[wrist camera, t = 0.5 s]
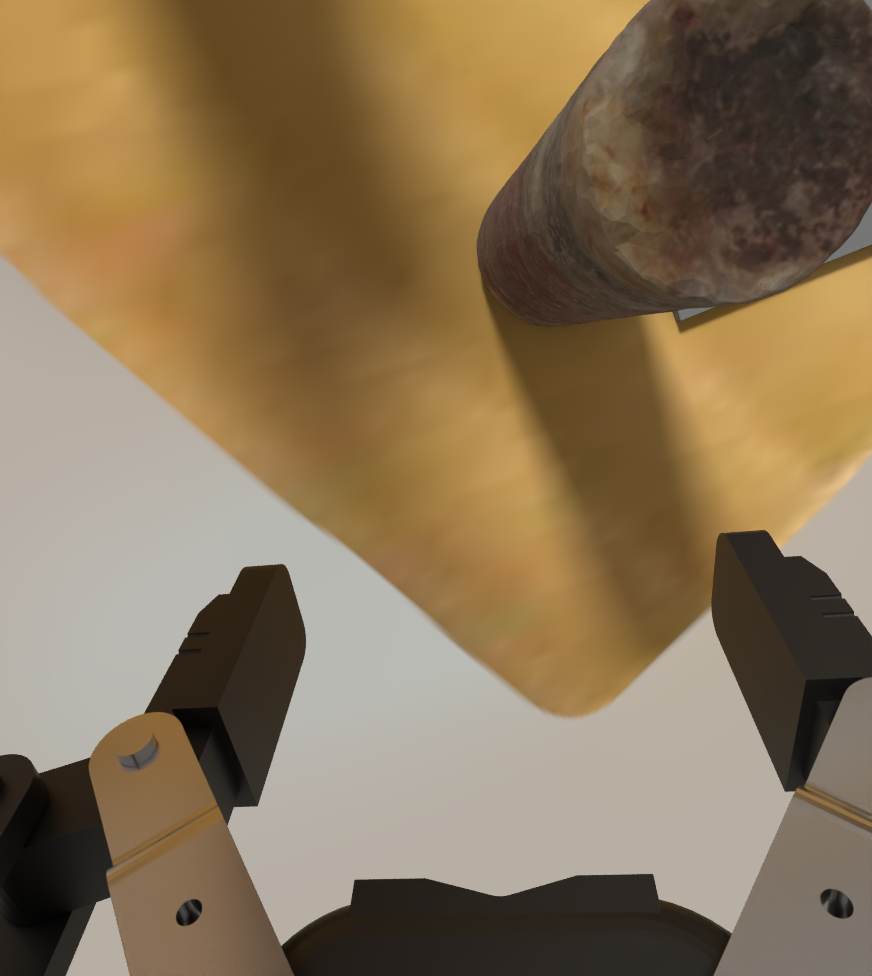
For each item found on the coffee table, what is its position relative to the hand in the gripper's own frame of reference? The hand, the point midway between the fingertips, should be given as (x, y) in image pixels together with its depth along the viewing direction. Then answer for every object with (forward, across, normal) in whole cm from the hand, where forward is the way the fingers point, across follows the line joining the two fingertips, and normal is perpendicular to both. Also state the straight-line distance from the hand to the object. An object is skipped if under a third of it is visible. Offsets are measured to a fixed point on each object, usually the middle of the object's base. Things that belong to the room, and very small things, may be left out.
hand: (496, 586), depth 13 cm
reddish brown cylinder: (+26, -3, -1) cm, 26 cm away
